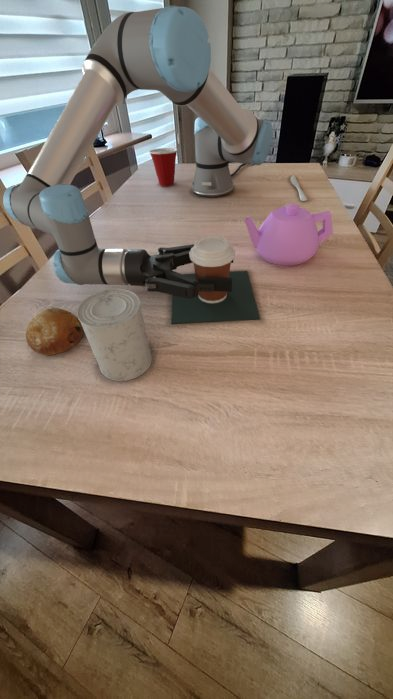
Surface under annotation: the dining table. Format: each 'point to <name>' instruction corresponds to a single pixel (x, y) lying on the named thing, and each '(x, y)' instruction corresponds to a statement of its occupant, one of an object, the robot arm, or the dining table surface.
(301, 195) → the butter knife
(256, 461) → the dining table surface
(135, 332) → the grey tin can
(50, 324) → the bread roll
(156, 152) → the plastic cup
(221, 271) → the coffee cup
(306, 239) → the teapot
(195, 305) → the mat
